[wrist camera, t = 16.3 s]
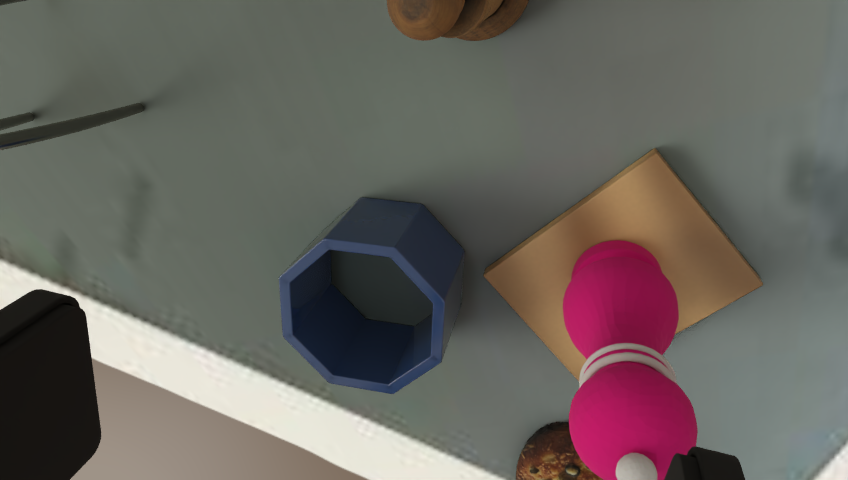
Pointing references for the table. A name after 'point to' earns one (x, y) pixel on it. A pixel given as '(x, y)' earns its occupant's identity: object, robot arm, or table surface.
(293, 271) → the utensil crock
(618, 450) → the pepper mill
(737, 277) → the oak board
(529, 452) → the bread roll
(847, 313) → the table surface
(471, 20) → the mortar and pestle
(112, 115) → the juicer
